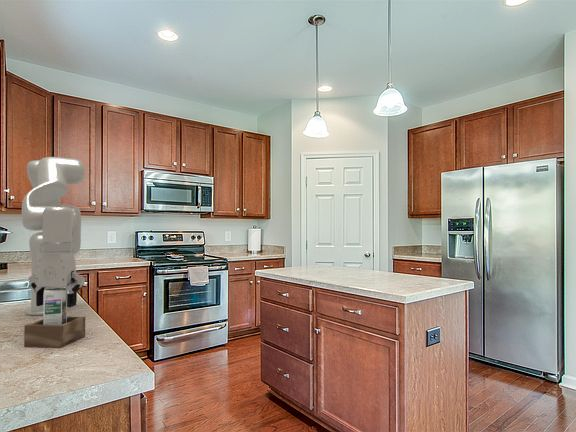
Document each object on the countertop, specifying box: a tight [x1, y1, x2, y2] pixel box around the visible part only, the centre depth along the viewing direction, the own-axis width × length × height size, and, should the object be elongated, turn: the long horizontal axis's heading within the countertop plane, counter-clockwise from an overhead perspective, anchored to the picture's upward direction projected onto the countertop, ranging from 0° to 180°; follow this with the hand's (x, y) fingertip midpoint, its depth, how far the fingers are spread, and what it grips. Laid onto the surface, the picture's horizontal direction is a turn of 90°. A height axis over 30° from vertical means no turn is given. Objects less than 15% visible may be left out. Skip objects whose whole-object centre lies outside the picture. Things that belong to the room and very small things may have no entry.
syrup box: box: [42, 287, 68, 325], centre depth 110 cm, size 6×6×14 cm
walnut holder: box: [23, 315, 86, 349], centre depth 109 cm, size 11×11×6 cm
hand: (56, 305), depth 110 cm, fingers open, 9 cm apart
